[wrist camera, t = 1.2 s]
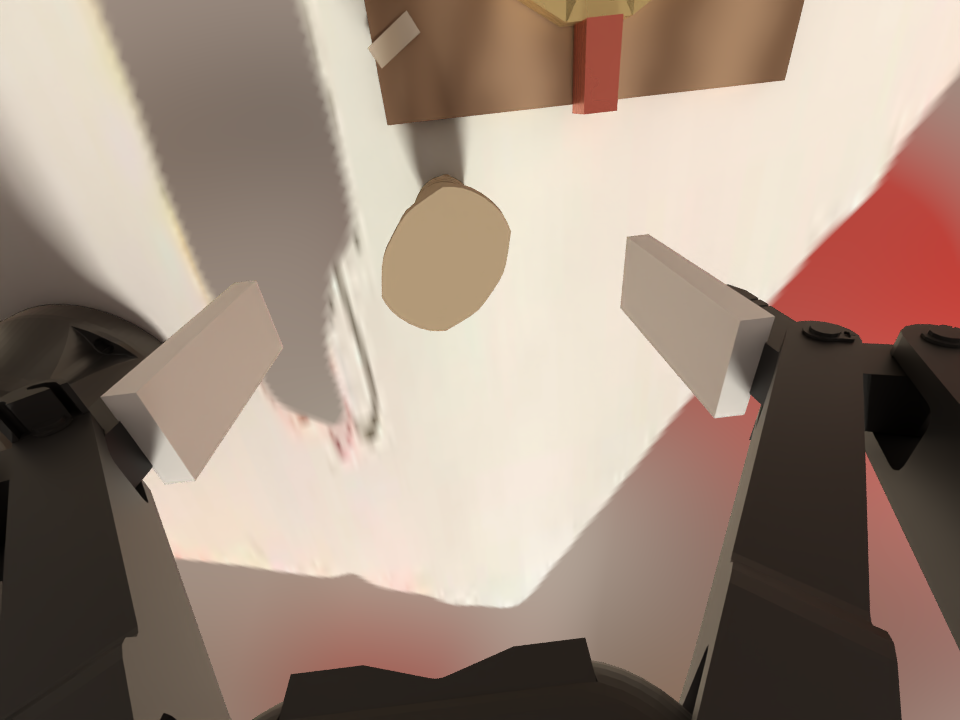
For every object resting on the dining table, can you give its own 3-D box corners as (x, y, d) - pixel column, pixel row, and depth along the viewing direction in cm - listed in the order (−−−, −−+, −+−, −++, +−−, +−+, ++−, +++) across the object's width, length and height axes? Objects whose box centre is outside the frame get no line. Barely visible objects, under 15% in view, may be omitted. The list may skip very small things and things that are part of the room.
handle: (395, 218, 31) (360, 298, 18) (437, 135, 28) (431, 162, 16) (451, 251, 33) (454, 346, 20) (496, 176, 30) (533, 230, 17)
